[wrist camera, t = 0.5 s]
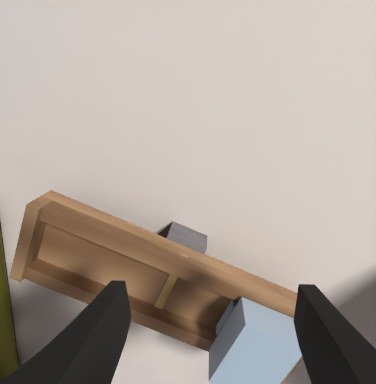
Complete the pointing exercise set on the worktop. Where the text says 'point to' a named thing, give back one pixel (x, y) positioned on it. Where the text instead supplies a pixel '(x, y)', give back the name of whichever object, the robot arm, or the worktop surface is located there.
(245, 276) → the wooden tray
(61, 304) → the worktop surface
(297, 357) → the block
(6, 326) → the spaceship
